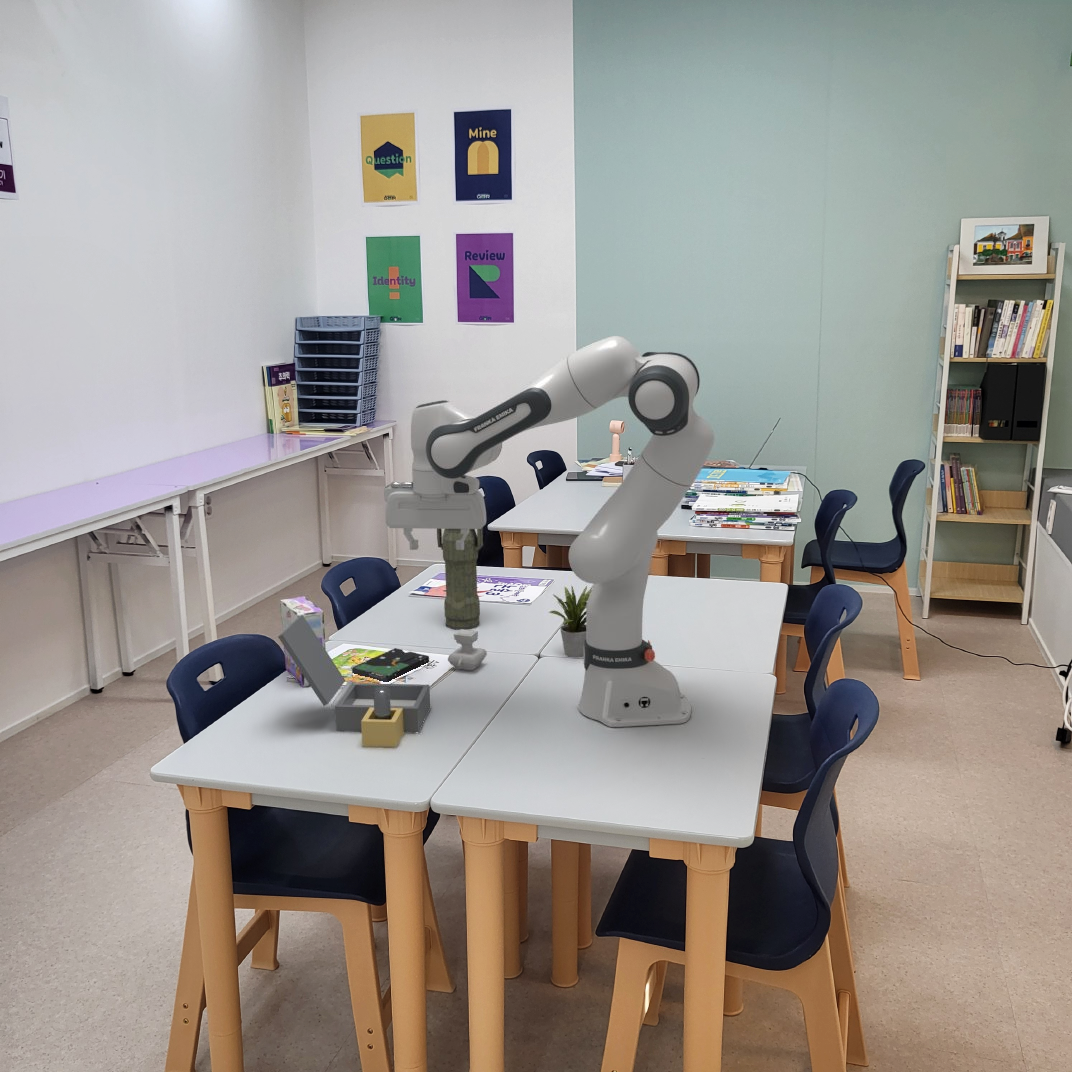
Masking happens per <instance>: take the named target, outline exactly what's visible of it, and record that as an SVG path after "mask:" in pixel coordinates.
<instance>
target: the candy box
mask: <svg viewBox="0 0 1072 1072" xmlns="http://www.w3.org/2000/svg"><path fill="white" fill-rule="evenodd" d="M279 603H280V615H281V626H282V633H283V632H284V631H285V630H286V629H287V628H288V627H289V626H290V625H291V624H292V623H293V622H294V621H295V620H296V619H297V618H298V617H299V616H301V615H303V616H304V618H305V619H306V621H307V622H308V624H309V625H310V627H311V629H312V630H313V632H314V633H315V635H316V636H317V638H318V639H319V641H320V642H321V644H322V645H323V647H324V648H325V650H326V649H327V648H326V634H325V633H326V632H325V631H326V630H325V619H324V618H325V616H324V610H322V609H321V608H320V607H318V606H317V605H315V604H314V603H313V602H312V601H311V600H309V599H308V598H307V597H305V596H296V597H291V598H285V599H280V600H279ZM283 649H284V650H283V652H284V661H285V663H284V664H285V670H287V672H288V673H289V674H290V673H291V674H292V675H293V676H294V677H295V678H296V679H297V680H296V679H295V678H294V677H293V676H292V675H291V674H290V675H291V676H292V677H293V678H294V679H295V680H296V681H297V682H298V683H299V684H300V685H301V686H302V687H303V688H305V687H311V686H310V684H309V683H308V681H307V680H306V678H305V677H304V675H303V674H302V672H301V671H300V669H299V668H298V666H297V665H296V663H295V662H294V660H293V659H292V657H291V656H290V654H289V653H288V651H287V650H286V648H285V647H284V646H283ZM326 651H327V650H326Z"/></svg>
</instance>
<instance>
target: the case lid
mask: <svg viewBox="0 0 1072 1072" xmlns="http://www.w3.org/2000/svg"><path fill="white" fill-rule="evenodd" d="M277 637H278V640H279V641H280V642H281V645H283V648H284V647H285V648H286V650H287V651H288V653H289V654H290V656H291V657H292V659H293V660H294V662H295V663H296V665H297V666H298V668H299V669H300V671H301V672H302V674H303V675H304V677H305V678H306V680H307V681H308V683H309V684H310V686H309V687H310V688H311V689H312V691H313V692H314V694H315V695H316V697H317V698H318V700H319V701H320V703H321V705H323V707H326V706H327V705H329V703H330V702H331V701H332V699H333V698H334V697H335V695H336V694H337V693H338V691H339V690H340V689H341V687H342V686H343V685H344V683H345V681H346V679H345V677H344V676H343V675H342V673H341V672H340V670H339V669H338V667H337V666H336V664H335V662H334V661H333V659H332V658H331V656H330V655H329V653H328V652H327V650H325V648H326V647H325V648H324V647H323V645H322V644H321V642H320V641H319V639H318V638H317V636H316V635H315V633H314V632H313V630H312V629H311V627H310V625H309V624H308V622H307V621H306V619H305V618H304V616H303V615H301V616H299V617H298V618H297V619H296V620H295V621H294V622H293V623H292V624H291V625H290V626H289V627H288V628H287V629H286V630H285V631H284V632H283V631H282V632H281V633H280V634H279V635H278V636H277Z"/></svg>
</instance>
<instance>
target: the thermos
mask: <svg viewBox="0 0 1072 1072" xmlns="http://www.w3.org/2000/svg"><path fill="white" fill-rule="evenodd" d="M483 527H484V526H483ZM483 527H482V528H481V529H469V533H468V535H467V537H466V539H465V540H464V550H456V541H457V540H461V538H462V537H463V535H464V534H461V529H443V530H444V531H443V532H442V529H436V541H437V548H441V551H442V559H443V560H444V568H445V569H444V572H445V598H444V617H445V627H447V629H450V630H456V631H459V630H460V629H464V630H473V629H475V628H478V627H479V626H480V614H481V608H480V607H481V606H480V605H481V604H480V597H479V595H478V582H477V581H478V576H477V575H478V574H477V573H478V570H477V562H478V561H477V560H478V558H479V551H480V550H481V549H482V548H483V546H484V541H483V539H484V538H483V537H484V535H483V532H484V531H483V529H484V528H483ZM476 531H477V532H476ZM442 533H443V534H442Z"/></svg>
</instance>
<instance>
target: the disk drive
mask: <svg viewBox="0 0 1072 1072" xmlns="http://www.w3.org/2000/svg"><path fill="white" fill-rule="evenodd" d="M428 662H429V663H430V656H429V655H425V654H423V653H422V654H421V653H417V652H413V651H407V652H405V651H404V650H403V649H400V648H396V647H395V648H393V649H389V650H388V651H385V652H383V653H381V654H379V655H377V656H375V657H373V658H370V659H368V660H366V661H363V662H361V663H358V664H357V665H353V666H352V667H351V672H352V673H354V674H358V675H360V676H365V677H370V678H373V679H377V680H379V681H383V682H389V681H391V680H392V679H395V678H397V677H399V676H401V675H403V674H405V673H407V672H409V671H411V670H413V669H416V668H418V667H420V666H421V665H424V664H426V663H428ZM352 673H351V674H352Z"/></svg>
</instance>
